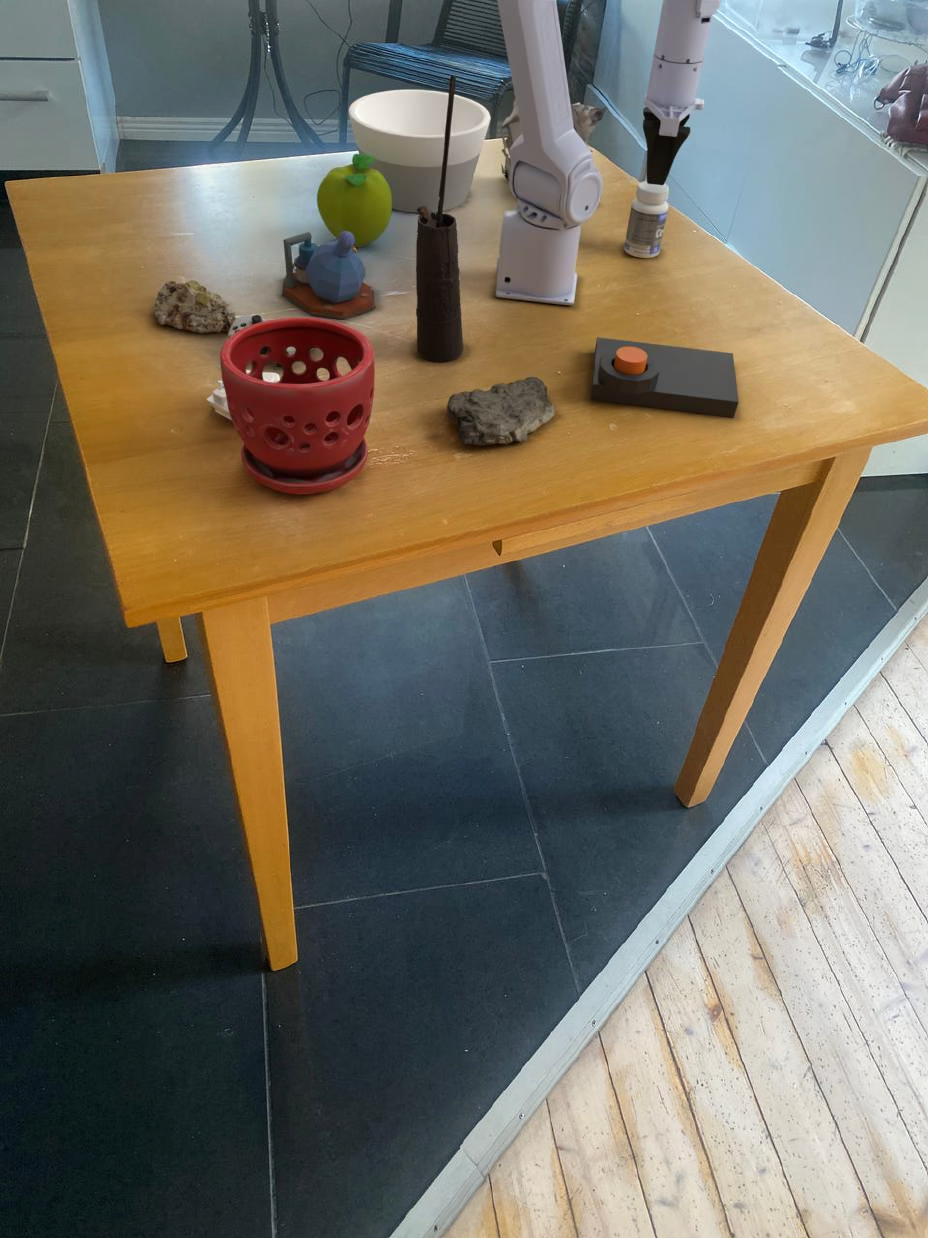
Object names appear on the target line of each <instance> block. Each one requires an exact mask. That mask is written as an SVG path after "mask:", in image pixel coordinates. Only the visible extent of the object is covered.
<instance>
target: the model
mask: <svg viewBox="0 0 928 1238" xmlns="http://www.w3.org/2000/svg"><path fill="white" fill-rule="evenodd" d="M312 235H313V234H312V233H311V232H310V231H308V232H304V233H301V234H297V235H293V236H290V237H287V238H285V239H283V240H282V241H283V251H284V262H285V263H284V264H285V277H284V278H283V283H282V289H281V296H282V297H283V298H284V299H287V300H288V301H289V302H291V303H292V304H294V306H296V307H298V308H299V309H301V310H302V311H304V312H305V313H307V314H308V315H309V316H313V317H320V318H327V319H335V320H343V321H344V320H347V319H350V318H353V317H356V316H359V315H362V314H364V313H367V312H369V311H371V310H374V309H376V307H377V305H376V300H375V291H374V289H372V286H370V285H369V284H367V283H366V282H364V280H365V277H366V266H365V265H364V263H363V261H362V260H361V258H360V257H359V255H358V253H359V251H358V250H357V247H355V246H353V245H354V243H355V240H354V236H353V234H352V233H350V232H348V231H344V232H342V233H341V234H340V235H339V237H338V240H333V241H330V242H325V243H322V244H319V245H318V244H316V243H314V242H312V238H313V236H312ZM295 245H298V256H297V257H295V258H294V260H293V250H292V247H293V246H295Z"/></svg>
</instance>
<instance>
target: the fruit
mask: <svg viewBox="0 0 928 1238" xmlns="http://www.w3.org/2000/svg"><path fill="white" fill-rule="evenodd" d="M374 158H375V156H373V155H364V154H359V153H354V154H352V159H351V163H350V164H347V165H344V166H336V167H333V168H331V170H329V171H328V172H327V174H326V175H325V177H324V178H323V179H322V180H321V182H320V184H319V186H318V189H317V193H316V205H317V209H318V213H319V215H320V218H321V220H322V221H323V222H322V223H324V225H325V227H326V229H327V230H328V231H329V233H330V235H332V236H333V237H334V238H335V240H336V241H338V237H339V235H340V234H341V233H342V232H344V231H348V232H350V233H352V234H353V236H354V240H355V243H354V245H353V246H354V247H355V248H361V247H365V246H367V245H368V244H371V243H373V242H374V241H376V240H377V239H378V238H380V237H381V236H382V234H384V232H385V231H386V229H387V228H388V225H389V223H390V221H391V216H392V210H393V209H392V196H391V191H390V188H389V185H388V183H387V181H386V180H385V178H384V177H383V176H382V174H381V173H380V172H378V171H377V170H375V169H370V168H367V167H368V166H369V165H370V164H371V163H372V161H373V160H374Z"/></svg>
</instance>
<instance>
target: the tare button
mask: <svg viewBox="0 0 928 1238" xmlns="http://www.w3.org/2000/svg"><path fill="white" fill-rule="evenodd" d="M646 361H647V354H646V352H644V351H643V350H641V349H639V348H636V347H622V348H620V349H618V350H617V352H616V357H615V362H614V368H615V369H616V370H617V371H620V372H622V373H624V374H632V375H636V374H642V373H643V372H644V370H645V366H646Z"/></svg>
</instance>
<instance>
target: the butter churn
mask: <svg viewBox="0 0 928 1238" xmlns="http://www.w3.org/2000/svg"><path fill="white" fill-rule="evenodd" d="M456 81H457V77H456V76H455V75H453V74H452V75H451V76H450V80H449V89H448V93H449V99H448V107H447V116H446V117H447V118H446V127H445V142H444V155H443V163H442V173H441V181H440V189H439V197H440V199H439V202H438V211H437V212H431V213H429V212H428V210H427V207H426V206H421V207H419V208H417V212H418V213H417V214H418V216H417V227H416V228H417V229H416V242H415V278H416V279H415V280H416V281H415V282H416V283H415V284H416V285H415V286H416V309H415V315H416V350H417V353H418V355H419V356H420V357H421V358H422V359H424V360H427V361H428V362H429V361H430V362H433V363H446V362H447V363H448V362H451V361H453V360H457V359H459V358H460V357H461V355H462V354H463V352H464V338H463V337H464V336H463V321H462V307H461V289H460V285H461V281H460V275H461V272H460V271H461V270H460V267H459V240H458V230H457V229H458V228H457V227H458V223H457V219H456V217H455V216H453V215H451V214H449V213H444V211H443V204H444V194H445V181H446V169H447V160H448V150H449V141H450V132H451V121H452V112H453V102H454V95H455V90H456Z"/></svg>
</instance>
